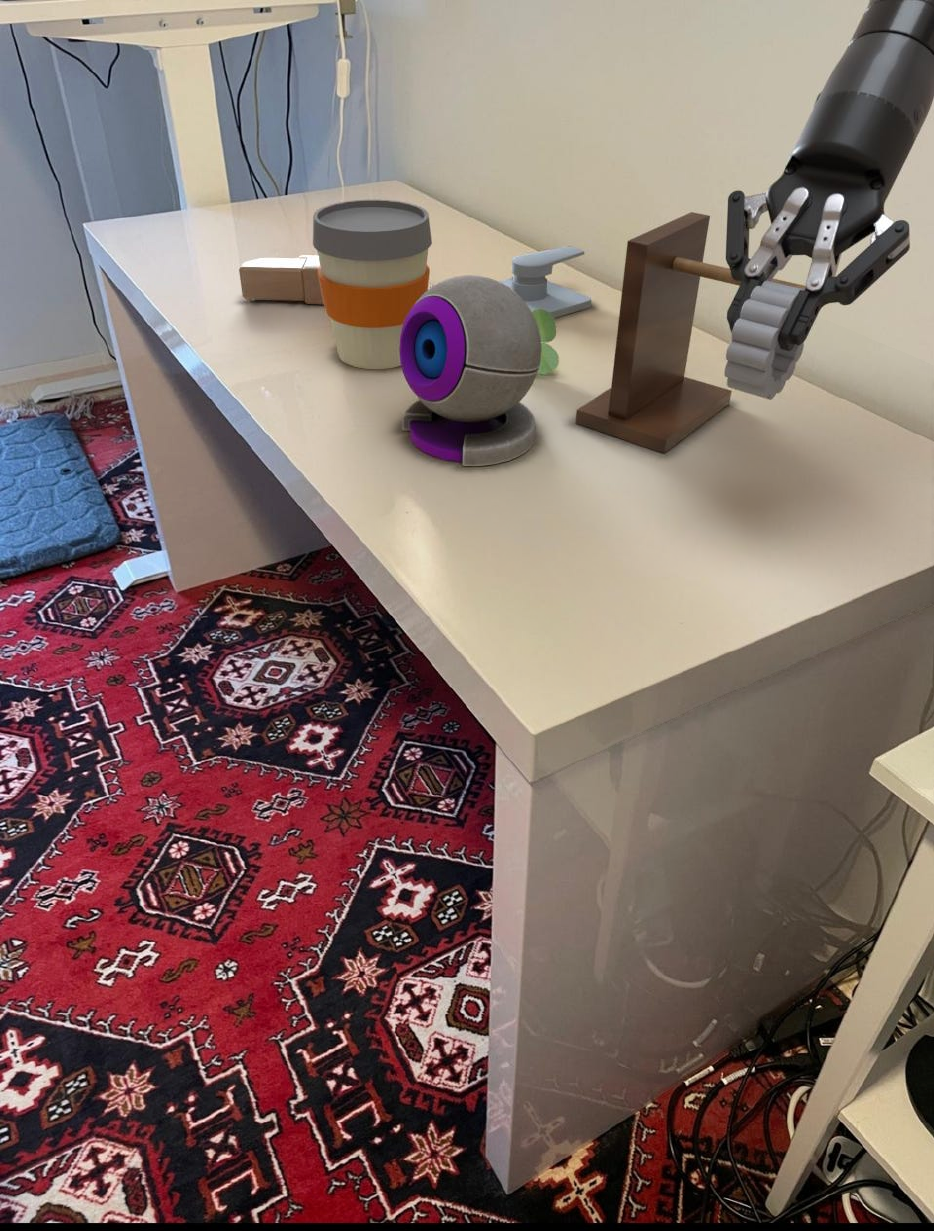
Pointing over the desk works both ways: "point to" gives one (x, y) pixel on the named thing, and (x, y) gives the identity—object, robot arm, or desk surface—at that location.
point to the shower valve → (545, 282)
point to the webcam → (470, 371)
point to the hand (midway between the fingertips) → (759, 337)
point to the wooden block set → (282, 279)
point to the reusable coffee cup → (371, 274)
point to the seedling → (546, 340)
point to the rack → (659, 340)
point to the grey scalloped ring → (762, 343)
